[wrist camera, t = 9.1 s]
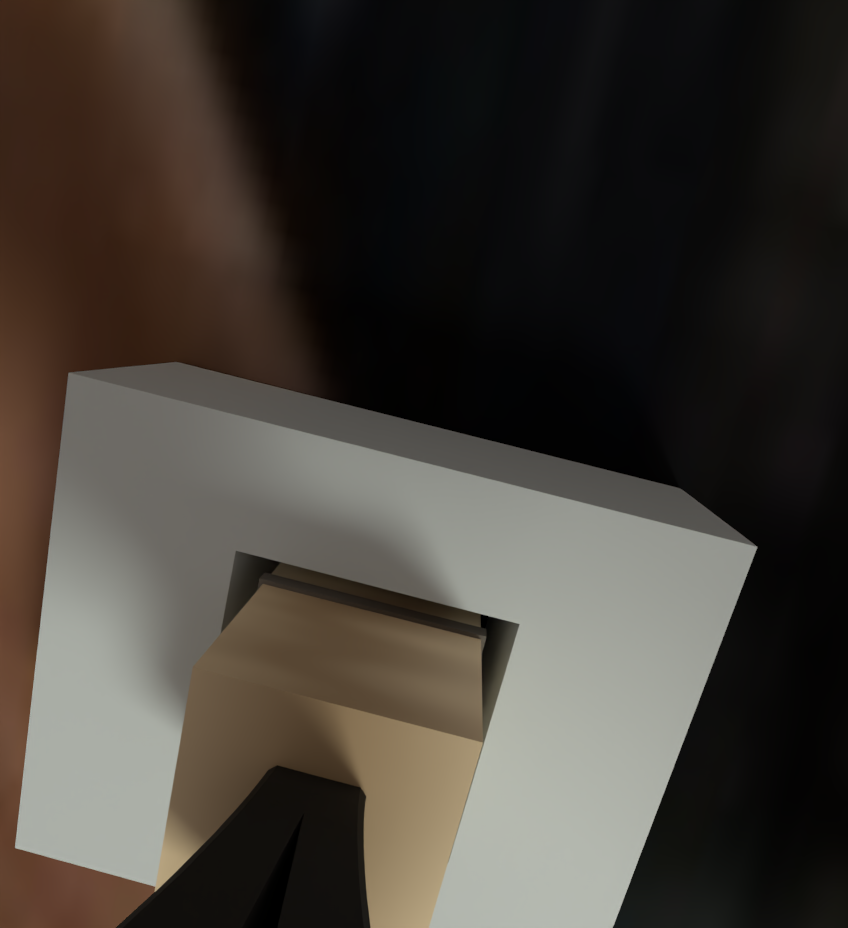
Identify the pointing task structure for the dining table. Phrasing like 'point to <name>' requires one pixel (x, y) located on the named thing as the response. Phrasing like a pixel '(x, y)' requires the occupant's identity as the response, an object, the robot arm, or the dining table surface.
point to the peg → (339, 724)
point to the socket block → (384, 566)
